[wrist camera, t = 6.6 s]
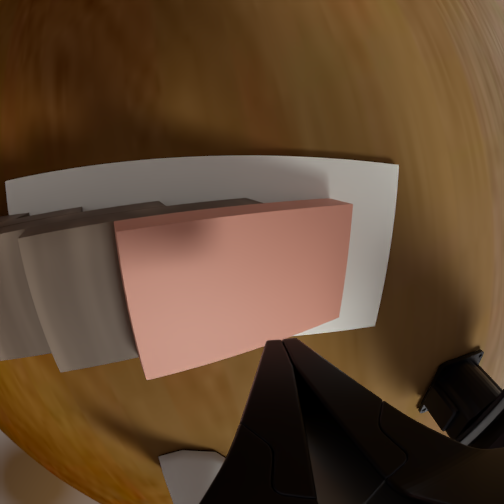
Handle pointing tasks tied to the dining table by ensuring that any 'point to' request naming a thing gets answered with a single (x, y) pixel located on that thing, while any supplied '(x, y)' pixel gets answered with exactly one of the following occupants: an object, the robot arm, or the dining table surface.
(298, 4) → the dining table surface
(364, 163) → the runner
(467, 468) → the robot arm
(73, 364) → the domino
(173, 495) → the flask
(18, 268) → the domino
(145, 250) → the domino
